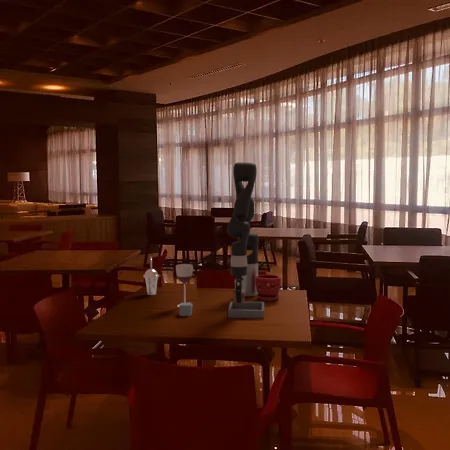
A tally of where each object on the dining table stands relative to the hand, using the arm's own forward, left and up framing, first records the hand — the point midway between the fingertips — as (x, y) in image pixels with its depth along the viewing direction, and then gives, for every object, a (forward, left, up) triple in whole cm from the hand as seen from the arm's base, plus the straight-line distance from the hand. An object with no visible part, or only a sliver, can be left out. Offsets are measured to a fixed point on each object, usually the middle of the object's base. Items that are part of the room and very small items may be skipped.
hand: (239, 300), depth 238 cm
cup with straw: (-37, -49, -6) cm, 62 cm away
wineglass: (-13, -27, -6) cm, 31 cm away
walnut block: (0, 0, 0) cm, 0 cm away
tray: (0, +4, -6) cm, 7 cm away
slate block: (+3, -24, -6) cm, 25 cm away
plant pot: (-29, +14, -6) cm, 33 cm away
